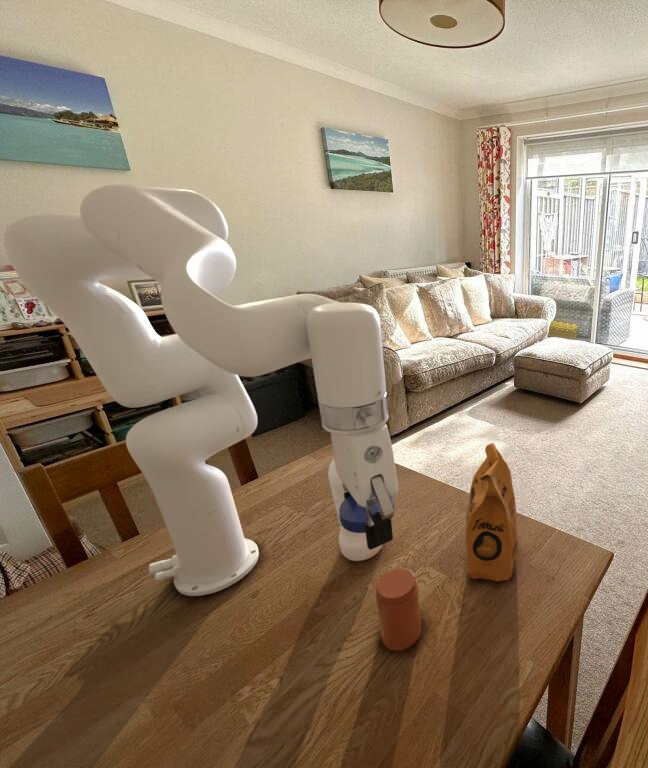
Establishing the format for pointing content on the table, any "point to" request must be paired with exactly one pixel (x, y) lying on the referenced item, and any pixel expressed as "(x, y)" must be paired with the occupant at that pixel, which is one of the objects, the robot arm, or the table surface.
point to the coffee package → (491, 520)
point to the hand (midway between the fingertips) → (369, 526)
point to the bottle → (349, 541)
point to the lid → (356, 514)
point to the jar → (398, 609)
